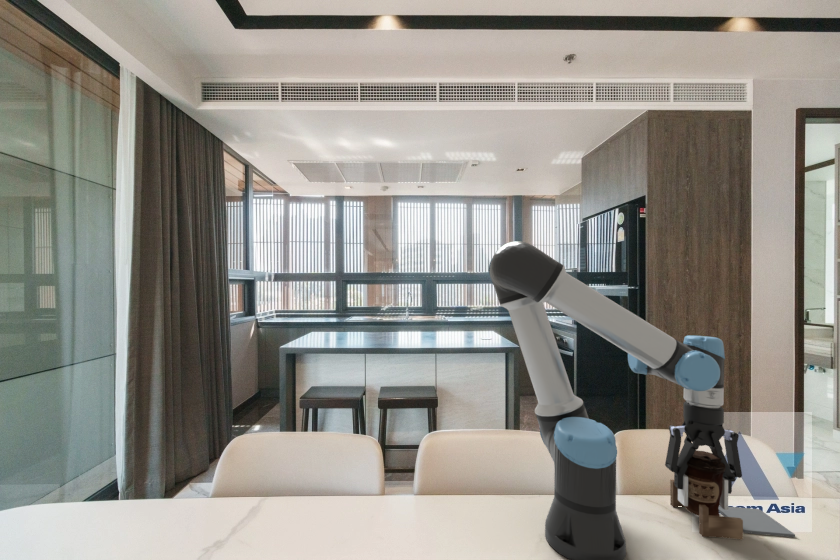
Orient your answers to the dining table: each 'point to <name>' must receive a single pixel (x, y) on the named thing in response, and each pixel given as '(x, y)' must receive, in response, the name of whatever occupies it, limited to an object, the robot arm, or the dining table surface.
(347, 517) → the dining table surface
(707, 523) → the cup holder rails
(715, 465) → the coffee cup
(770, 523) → the coaster
